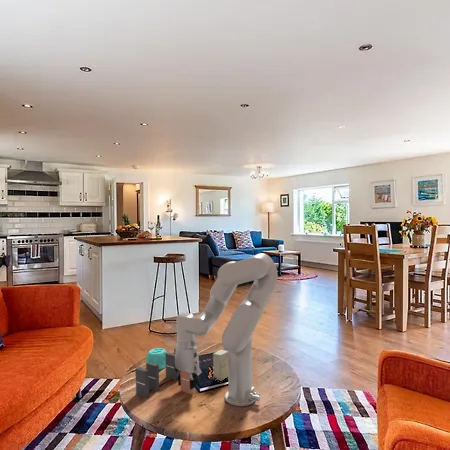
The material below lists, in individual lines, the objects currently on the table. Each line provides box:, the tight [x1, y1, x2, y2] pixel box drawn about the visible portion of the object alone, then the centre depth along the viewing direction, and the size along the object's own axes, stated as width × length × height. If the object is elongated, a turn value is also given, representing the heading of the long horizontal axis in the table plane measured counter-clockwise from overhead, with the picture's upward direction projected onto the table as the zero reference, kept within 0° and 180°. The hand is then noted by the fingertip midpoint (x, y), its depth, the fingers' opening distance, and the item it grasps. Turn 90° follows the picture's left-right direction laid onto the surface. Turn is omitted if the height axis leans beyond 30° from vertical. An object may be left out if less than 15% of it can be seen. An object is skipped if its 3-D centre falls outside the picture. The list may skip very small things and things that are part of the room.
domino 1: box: [135, 366, 150, 399], centre depth 143 cm, size 2×6×11 cm, turn 57°
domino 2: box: [145, 362, 160, 392], centre depth 148 cm, size 2×6×11 cm, turn 57°
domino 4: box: [180, 371, 195, 395], centre depth 145 cm, size 2×6×11 cm, turn 57°
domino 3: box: [165, 351, 178, 381], centre depth 158 cm, size 2×6×11 cm, turn 57°
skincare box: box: [212, 349, 228, 382], centre depth 156 cm, size 6×4×12 cm
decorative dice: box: [145, 347, 168, 371], centre depth 169 cm, size 8×8×8 cm
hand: (187, 385), depth 145 cm, fingers closed on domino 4, 5 cm apart
